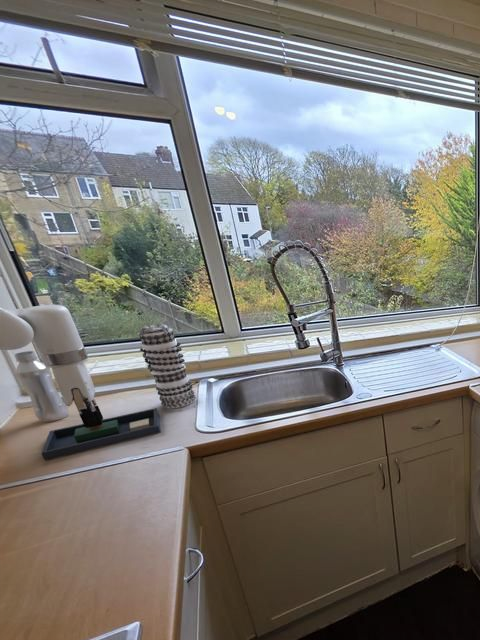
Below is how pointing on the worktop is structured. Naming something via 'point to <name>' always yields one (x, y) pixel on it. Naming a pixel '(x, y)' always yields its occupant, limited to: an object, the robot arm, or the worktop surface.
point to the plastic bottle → (40, 387)
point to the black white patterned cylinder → (166, 366)
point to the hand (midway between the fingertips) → (94, 422)
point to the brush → (97, 431)
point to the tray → (65, 443)
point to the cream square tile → (139, 424)
